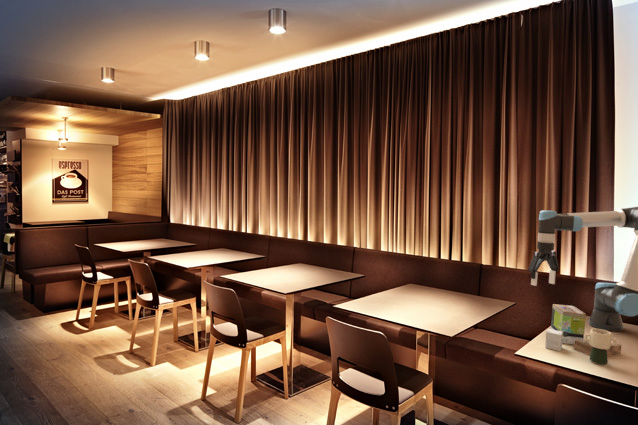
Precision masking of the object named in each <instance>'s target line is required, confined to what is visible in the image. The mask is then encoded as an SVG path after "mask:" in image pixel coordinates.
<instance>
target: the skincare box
mask: <svg viewBox="0 0 638 425" xmlns="http://www.w3.org/2000/svg"><path fill="white" fill-rule="evenodd" d="M562 338H563V331H557V330H552V329H551V328H547V330H546V331H545V349H547V350H548V349H549V350H554V351H557V352H561V351H562V348H563V343H562Z"/></svg>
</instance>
